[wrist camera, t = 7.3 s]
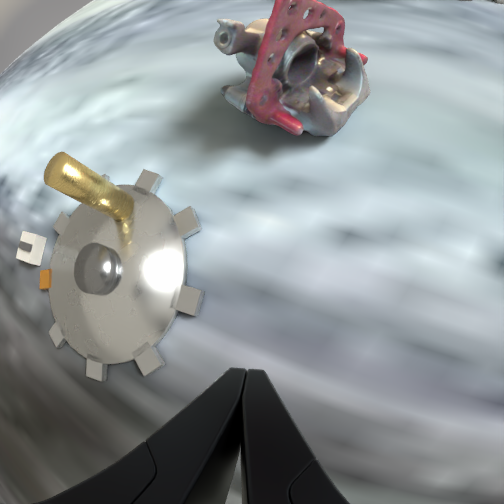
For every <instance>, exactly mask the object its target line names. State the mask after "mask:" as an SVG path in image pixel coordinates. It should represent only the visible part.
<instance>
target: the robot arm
mask: <svg viewBox="0 0 504 504" xmlns="http://www.w3.org/2000/svg"><path fill="white" fill-rule="evenodd" d="M240 446H241V484H242V504H350V503H349V502H348V501H347V500H346V499H345V497H344V496H343V495H342V494H341V493H340V491H339V490H338V489H337V488H336V486H335V485H334V483H333V482H332V481H331V479H330V478H329V476H328V475H327V473H326V472H325V470H324V469H323V467H322V466H321V464H320V462H319V461H318V460H316V456H315V455H314V453H313V452H312V450H311V448H310V447H309V445H308V443H307V442H306V440H305V438H304V437H303V435H302V434H301V432H300V430H299V429H298V427H297V425H296V424H295V422H294V420H293V419H292V417H291V415H290V413H289V412H288V410H287V408H286V407H285V405H284V403H283V402H282V400H281V398H280V396H279V395H278V393H277V391H276V390H275V388H274V386H273V384H272V383H271V381H270V379H269V377H268V376H267V374H266V372H265V371H264V370H259V369H249V370H248V371H247V370H246V369H244V368H229V369H228V370H227V371H226V372H225V373H223V374H222V375H221V376H220V377H219V378H218V379H217V380H216V381H215V382H213V383H212V384H211V385H210V386H209V387H208V388H207V389H206V390H204V391H203V392H202V393H201V394H200V395H199V396H198V397H196V398H195V399H194V400H193V401H192V402H191V403H189V404H188V405H187V406H186V407H185V408H184V409H182V410H181V411H180V412H179V413H178V414H177V415H175V416H174V417H173V418H172V419H171V420H169V421H168V422H167V423H166V424H165V425H163V426H162V427H161V428H160V429H159V430H157V431H156V432H155V433H154V434H152V435H151V436H150V437H149V438H147V439H146V442H142V443H141V444H140V445H138V446H137V447H136V448H135V449H133V450H132V451H131V452H129V453H128V454H127V455H125V456H124V457H122V458H121V459H120V460H118V461H117V462H115V463H114V464H112V465H111V466H109V467H107V468H106V469H104V470H102V471H101V472H99V473H97V474H96V475H94V476H92V477H90V478H88V479H87V480H85V481H83V482H81V483H79V484H77V485H75V486H73V487H72V488H70V489H68V490H66V491H64V492H62V493H60V494H58V495H56V496H54V497H52V498H49V499H47V500H44V501H41V502H38V503H33V504H225V502H226V499H227V495H228V492H229V488H230V485H231V481H232V478H233V474H234V471H235V467H236V464H237V460H238V456H239V452H240Z"/></svg>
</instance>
